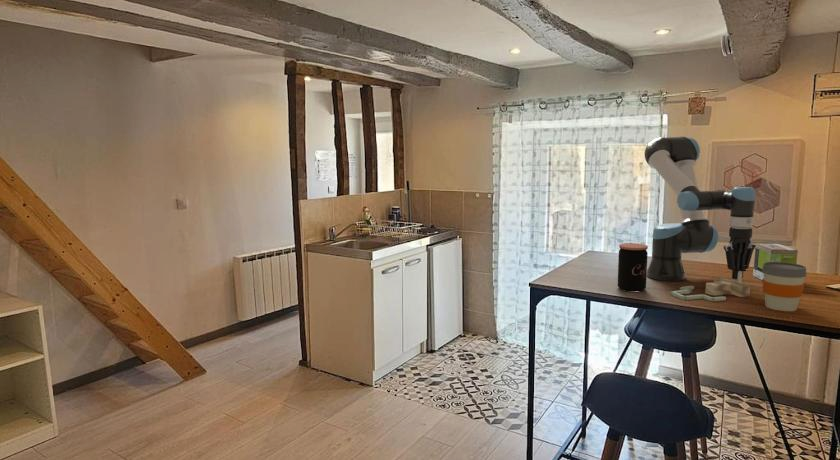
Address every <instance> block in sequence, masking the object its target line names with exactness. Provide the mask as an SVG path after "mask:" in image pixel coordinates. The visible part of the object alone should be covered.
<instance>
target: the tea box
mask: <svg viewBox="0 0 840 460" xmlns="http://www.w3.org/2000/svg"><path fill="white" fill-rule="evenodd" d="M755 245H756V247H755V248H754V261H753V270H752V271H753V273H752V276H753V277H754V278H757V279H759V280H761V281H762V279H764V276H763V272H762V270H763V265H764V263H767V262H785V263H793V264H798V263H797V260H798V249H796V248H793V247H790V246H787V245H785V244H784V245H783V244H779V243H755Z"/></svg>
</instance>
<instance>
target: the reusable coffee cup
mask: <svg viewBox="0 0 840 460" xmlns="http://www.w3.org/2000/svg"><path fill="white" fill-rule="evenodd" d="M762 272H763V276H764V279H762V280H761V282H762V291H763V293H764V302H765V307H766V308H768V309H771V310H774V311H780V312H795V311H797V310H798V306H799V302H800V298H801V297H802V296H803V293H804V288H805V285H806V283H805V278H806V277H807V266H805V265H802V264H798V263H796V264H793V263H785V262H767V263H764V265H763V270H762Z"/></svg>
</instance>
